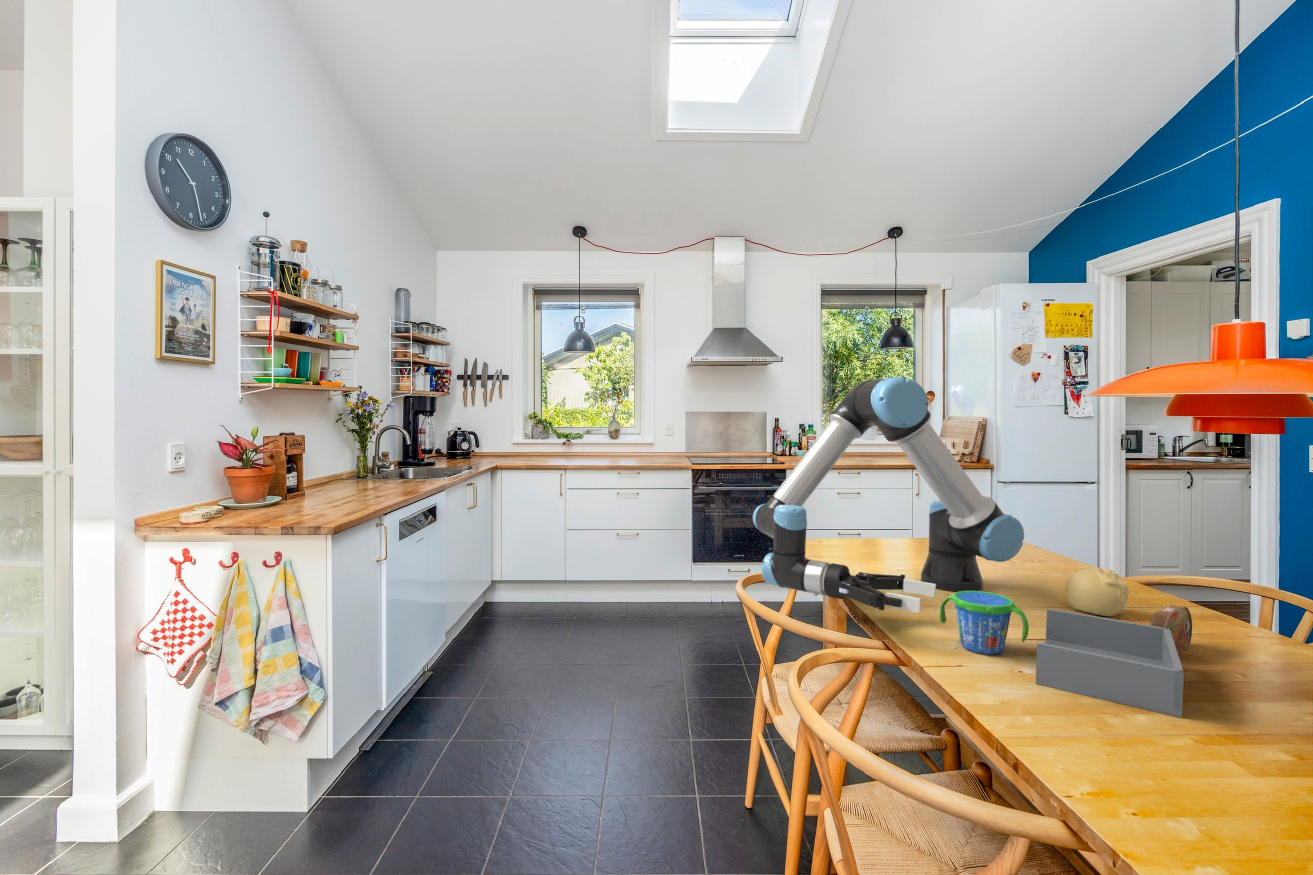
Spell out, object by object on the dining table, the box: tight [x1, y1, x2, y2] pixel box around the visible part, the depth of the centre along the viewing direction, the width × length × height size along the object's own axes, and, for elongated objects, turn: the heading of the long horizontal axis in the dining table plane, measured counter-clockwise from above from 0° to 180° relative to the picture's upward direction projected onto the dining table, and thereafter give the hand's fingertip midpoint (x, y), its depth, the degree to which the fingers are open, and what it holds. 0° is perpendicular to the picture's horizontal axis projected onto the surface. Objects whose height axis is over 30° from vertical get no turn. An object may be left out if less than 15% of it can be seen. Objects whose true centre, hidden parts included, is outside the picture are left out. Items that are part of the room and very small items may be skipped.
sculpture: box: [1065, 565, 1130, 617], centre depth 142 cm, size 12×12×11 cm
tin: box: [1149, 605, 1193, 655], centre depth 119 cm, size 15×3×8 cm, turn 123°
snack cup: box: [939, 590, 1030, 656], centre depth 119 cm, size 16×10×10 cm
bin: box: [1035, 607, 1185, 718], centre depth 107 cm, size 24×19×7 cm
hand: (928, 597), depth 124 cm, fingers open, 13 cm apart
